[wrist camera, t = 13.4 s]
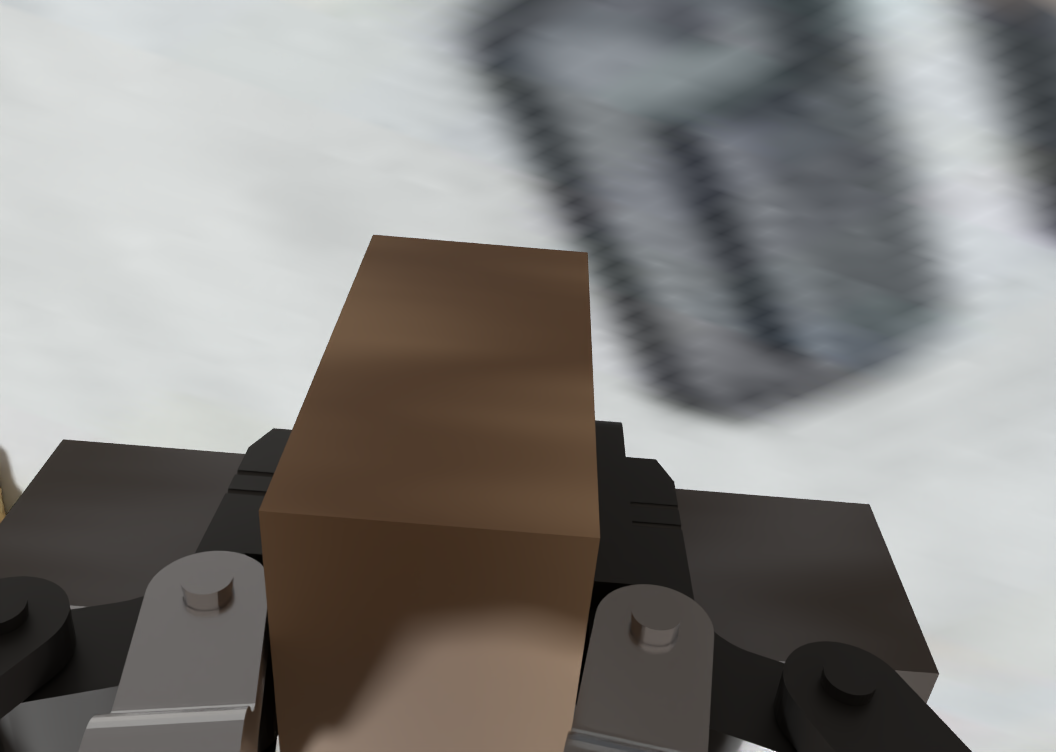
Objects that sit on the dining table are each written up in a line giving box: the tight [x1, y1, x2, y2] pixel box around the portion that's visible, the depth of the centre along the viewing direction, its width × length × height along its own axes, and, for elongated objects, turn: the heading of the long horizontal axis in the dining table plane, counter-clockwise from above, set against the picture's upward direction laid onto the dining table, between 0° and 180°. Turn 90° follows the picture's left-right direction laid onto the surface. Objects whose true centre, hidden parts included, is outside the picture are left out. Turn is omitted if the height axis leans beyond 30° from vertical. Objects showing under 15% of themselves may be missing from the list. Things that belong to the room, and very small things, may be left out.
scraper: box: [0, 235, 939, 752], centre depth 13 cm, size 13×5×6 cm, turn 86°
